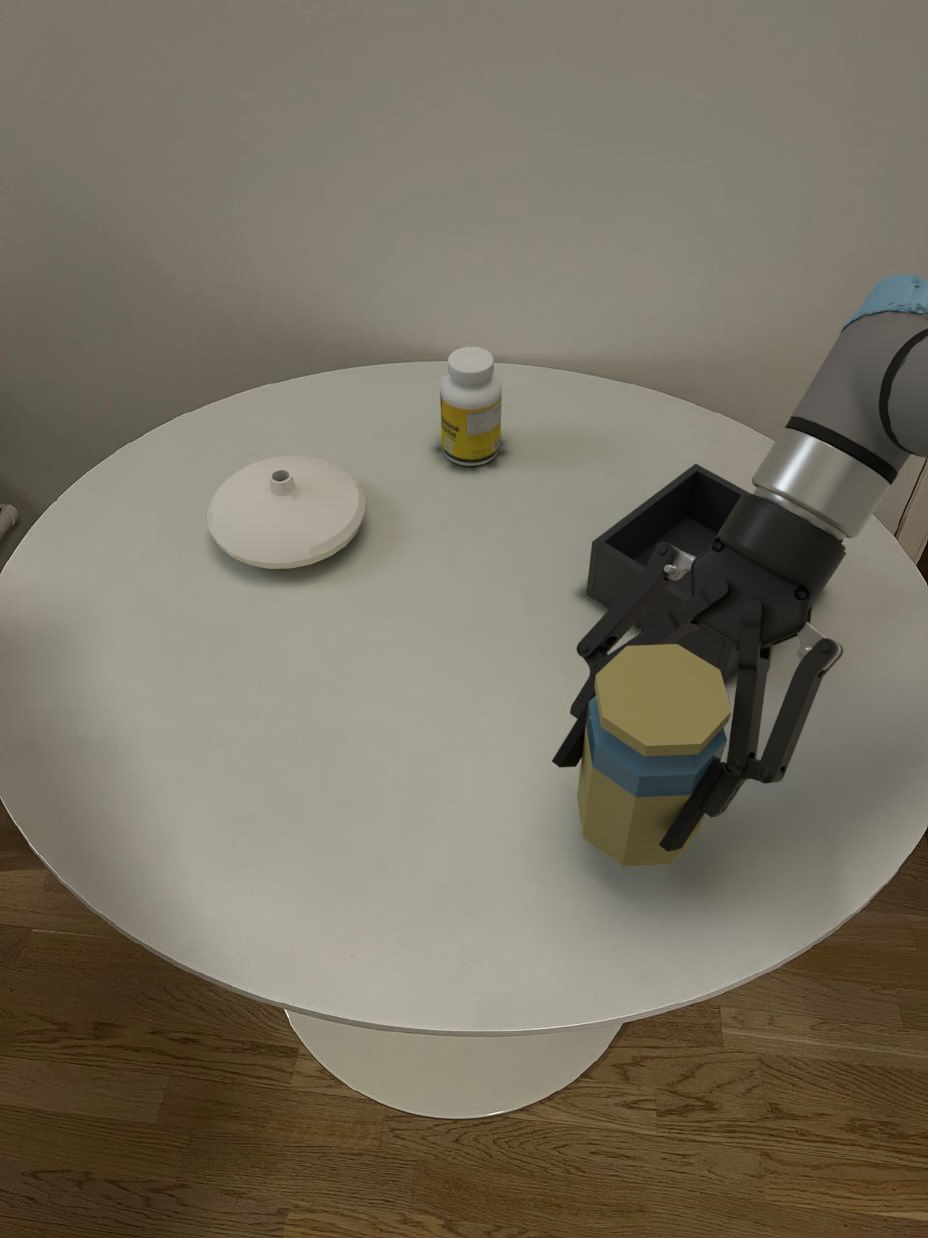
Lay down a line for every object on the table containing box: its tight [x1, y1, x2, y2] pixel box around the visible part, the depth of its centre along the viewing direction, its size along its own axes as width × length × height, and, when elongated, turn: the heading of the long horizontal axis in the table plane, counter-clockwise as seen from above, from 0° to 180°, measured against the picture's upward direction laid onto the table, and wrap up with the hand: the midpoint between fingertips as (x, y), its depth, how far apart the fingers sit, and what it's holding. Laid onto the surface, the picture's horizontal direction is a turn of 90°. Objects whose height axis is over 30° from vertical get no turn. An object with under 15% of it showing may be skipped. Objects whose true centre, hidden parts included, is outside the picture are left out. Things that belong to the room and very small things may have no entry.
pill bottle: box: [439, 346, 503, 467], centre depth 106 cm, size 6×6×12 cm
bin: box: [585, 463, 750, 683], centre depth 93 cm, size 16×16×7 cm
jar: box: [576, 644, 732, 867], centre depth 69 cm, size 9×9×15 cm
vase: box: [205, 455, 366, 570], centre depth 100 cm, size 16×16×7 cm
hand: (615, 803), depth 69 cm, fingers closed on jar, 9 cm apart
